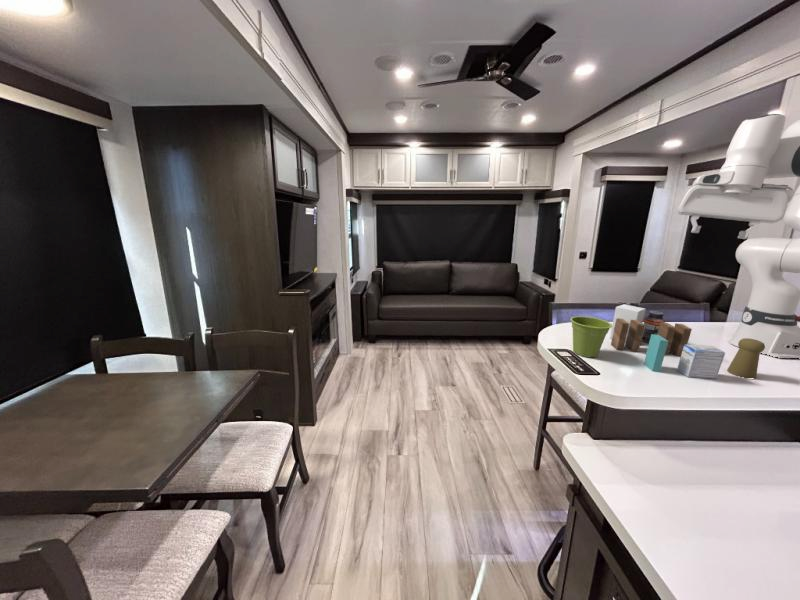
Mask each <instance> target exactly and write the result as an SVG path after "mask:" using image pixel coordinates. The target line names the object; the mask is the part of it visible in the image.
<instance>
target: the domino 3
mask: <svg viewBox="0 0 800 600" xmlns="http://www.w3.org/2000/svg"><path fill="white" fill-rule="evenodd" d="M667 344H668V341H667V340H666V339H664V338H663V337H661V336H660V335H654V334H651V338H650V342H649V343H648V346H647V350H646V353H645V358H644V362H643V365H645V367H647V368H648V369H649V370H651V371H652V372H655V373H656V372H657V373H661V369H662V366H663V361H664V359H665V356H666V355H665V352H666V348H667Z"/></svg>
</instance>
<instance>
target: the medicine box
mask: <svg viewBox="0 0 800 600" xmlns="http://www.w3.org/2000/svg"><path fill="white" fill-rule="evenodd" d="M725 355H726V352H725V351H724V350H722V349H719V348H718V347H715V346H714V345H702V344H699V345H698V344H687V345H684V348H683V351H682V355H681V357H679V361H678V365H677V368H676V370H677V371H678V373H679V372H680V373H681V374H682V375H683V376H685V377H687V378H699V379H700V378H701V379H717V378H718V376H719V373H720V369H721V367H722V364H723V360H724V358H725Z"/></svg>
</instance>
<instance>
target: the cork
mask: <svg viewBox="0 0 800 600" xmlns="http://www.w3.org/2000/svg"><path fill="white" fill-rule="evenodd" d="M738 346H739V347H738V350H737V352H736V354H735V355H734V358H733V359H732V361H731V363H730V364H729V366H728V368H727V370H726V371H727V372H728V373H729V374H731V375H733V376H736V377H738V376H740V377H739V378H742V377H744V378H743V379H747V378H757V374H758V368H759V360H760V354H761V352H762V351H763V350H764V349H765V345H764V343H762V342H761V341H758V340H755V339H749V338H744V339H741V340H740V341H739V343H738Z"/></svg>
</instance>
